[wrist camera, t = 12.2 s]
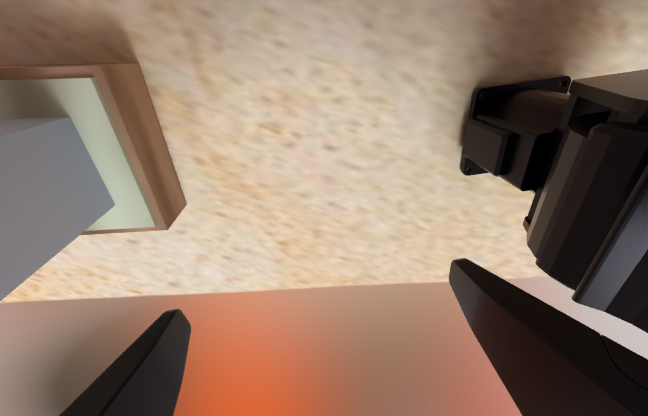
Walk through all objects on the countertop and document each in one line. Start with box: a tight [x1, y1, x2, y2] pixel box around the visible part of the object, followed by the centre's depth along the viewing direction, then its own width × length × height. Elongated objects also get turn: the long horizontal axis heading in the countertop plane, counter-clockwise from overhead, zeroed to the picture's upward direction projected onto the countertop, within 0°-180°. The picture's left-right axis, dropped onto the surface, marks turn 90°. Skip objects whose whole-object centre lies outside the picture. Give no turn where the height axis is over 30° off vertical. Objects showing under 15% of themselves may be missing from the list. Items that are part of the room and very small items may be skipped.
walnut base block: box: [0, 63, 187, 235], centre depth 17 cm, size 10×10×4 cm
